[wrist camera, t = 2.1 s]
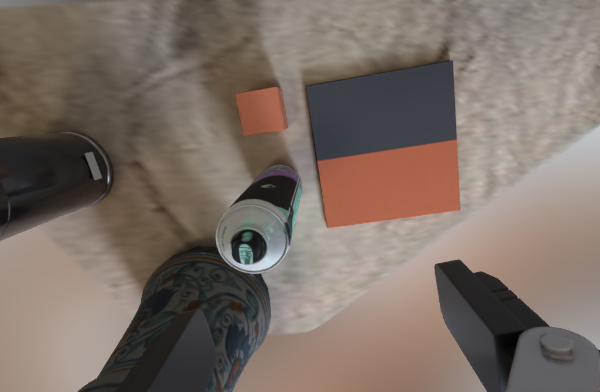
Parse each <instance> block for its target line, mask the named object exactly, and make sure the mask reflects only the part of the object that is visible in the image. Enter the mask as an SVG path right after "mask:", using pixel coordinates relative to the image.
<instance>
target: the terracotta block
mask: <svg viewBox="0 0 600 392" xmlns="http://www.w3.org/2000/svg"><path fill="white" fill-rule="evenodd" d="M235 96H236V101H237V106H238V111H239V115H240V120H241V125H242V130H243V135H244V136H251V135H257V134H263V133H269V132H275V131H281V130H285V129H287V128H288V124H287V118H286V112H285V106H284V101H283V95H282V90H281V89H280V88H278V87H271V88H265V89H260V90H254V91H248V92H243V93H237V94H235Z"/></svg>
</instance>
